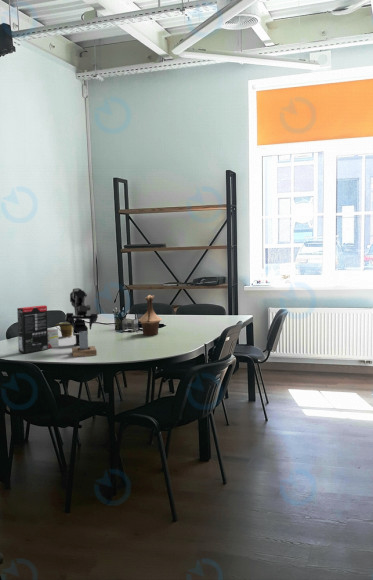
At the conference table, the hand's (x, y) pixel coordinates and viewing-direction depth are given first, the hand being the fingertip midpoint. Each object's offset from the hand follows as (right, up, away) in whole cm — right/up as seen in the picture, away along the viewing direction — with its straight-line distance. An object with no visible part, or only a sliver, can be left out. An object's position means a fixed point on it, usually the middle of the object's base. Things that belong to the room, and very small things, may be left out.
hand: (82, 329), depth 297 cm
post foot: (+2, -14, -8) cm, 16 cm away
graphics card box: (-30, -14, +5) cm, 34 cm away
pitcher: (+36, -8, +56) cm, 67 cm away
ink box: (-23, -13, +17) cm, 32 cm away
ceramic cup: (-24, -10, +55) cm, 61 cm away
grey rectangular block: (+2, -14, -8) cm, 16 cm away
